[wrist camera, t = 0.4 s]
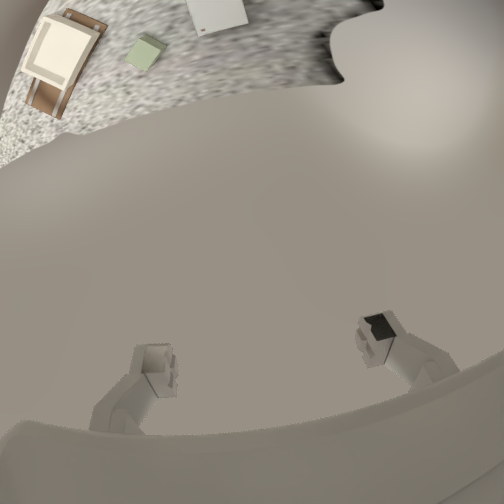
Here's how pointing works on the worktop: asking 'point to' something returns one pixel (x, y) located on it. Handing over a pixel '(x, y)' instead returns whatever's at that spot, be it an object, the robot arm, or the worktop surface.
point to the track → (49, 95)
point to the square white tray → (59, 51)
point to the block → (145, 52)
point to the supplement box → (216, 15)
